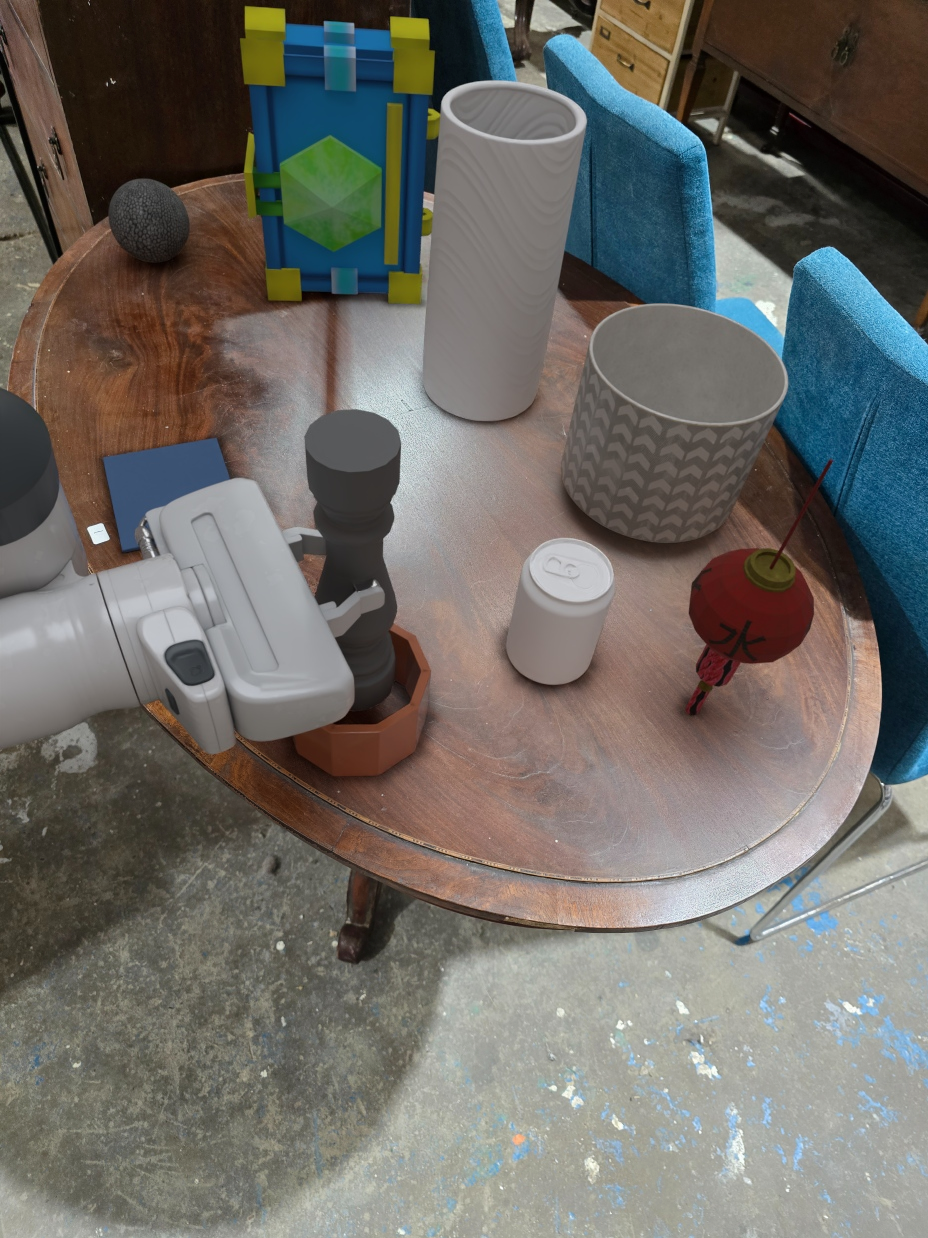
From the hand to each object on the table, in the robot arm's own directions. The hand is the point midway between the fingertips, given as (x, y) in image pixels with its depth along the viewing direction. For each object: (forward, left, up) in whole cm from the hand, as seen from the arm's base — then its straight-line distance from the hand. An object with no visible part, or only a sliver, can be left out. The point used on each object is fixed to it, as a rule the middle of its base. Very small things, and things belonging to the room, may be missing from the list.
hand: (366, 565), depth 60 cm
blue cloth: (-11, +32, -19) cm, 39 cm away
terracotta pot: (-1, 0, -19) cm, 20 cm away
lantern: (+28, -9, -20) cm, 36 cm away
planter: (+37, +17, -20) cm, 45 cm away
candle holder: (-1, 0, -14) cm, 14 cm away
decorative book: (+18, +66, -20) cm, 71 cm away
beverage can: (+18, +1, -20) cm, 27 cm away
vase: (+27, +40, -20) cm, 52 cm away
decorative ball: (-5, +78, -20) cm, 81 cm away
